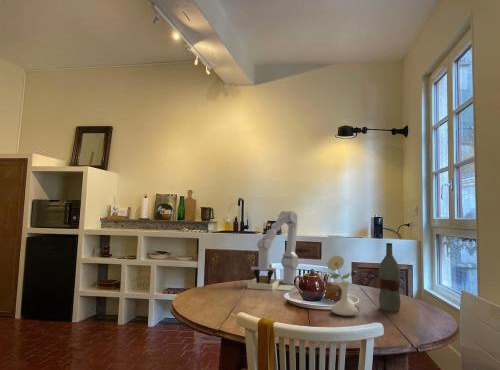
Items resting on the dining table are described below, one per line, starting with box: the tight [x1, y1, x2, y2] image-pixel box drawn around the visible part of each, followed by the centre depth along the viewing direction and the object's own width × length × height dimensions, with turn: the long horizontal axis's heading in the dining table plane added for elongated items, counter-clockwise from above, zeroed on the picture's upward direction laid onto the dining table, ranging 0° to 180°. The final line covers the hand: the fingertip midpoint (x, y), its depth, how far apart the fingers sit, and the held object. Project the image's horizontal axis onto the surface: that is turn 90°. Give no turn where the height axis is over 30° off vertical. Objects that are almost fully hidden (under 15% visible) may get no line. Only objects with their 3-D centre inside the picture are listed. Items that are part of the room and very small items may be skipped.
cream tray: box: [246, 277, 280, 291], centre depth 212 cm, size 16×15×3 cm
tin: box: [323, 281, 342, 302], centre depth 183 cm, size 15×3×8 cm, turn 25°
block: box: [259, 274, 268, 284], centre depth 212 cm, size 4×4×6 cm
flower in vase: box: [326, 255, 359, 317], centre depth 158 cm, size 13×11×25 cm
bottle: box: [378, 242, 401, 313], centre depth 167 cm, size 9×9×30 cm
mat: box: [275, 284, 295, 292], centre depth 208 cm, size 12×8×1 cm, turn 163°
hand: (263, 283), depth 212 cm, fingers open, 6 cm apart
